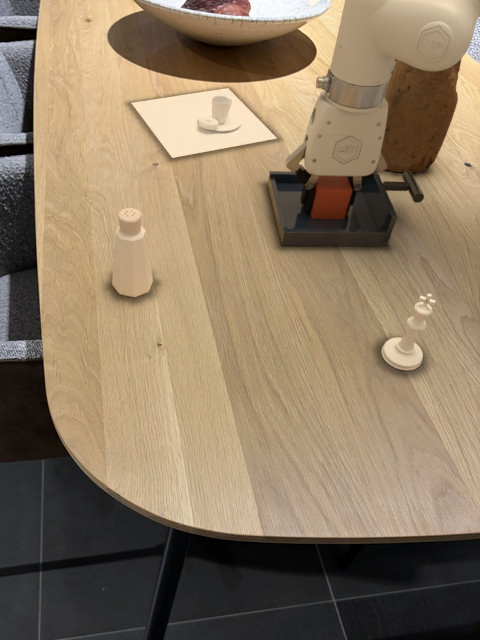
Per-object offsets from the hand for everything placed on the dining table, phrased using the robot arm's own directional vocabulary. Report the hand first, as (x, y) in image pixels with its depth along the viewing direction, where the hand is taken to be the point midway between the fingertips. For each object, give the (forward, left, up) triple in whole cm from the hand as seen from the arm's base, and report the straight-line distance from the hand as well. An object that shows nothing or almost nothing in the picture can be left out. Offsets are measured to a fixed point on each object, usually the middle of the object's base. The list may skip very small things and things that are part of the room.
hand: (325, 207), depth 91 cm
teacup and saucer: (+17, -28, -1) cm, 33 cm away
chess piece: (-4, +29, -1) cm, 29 cm away
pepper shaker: (+29, +16, -1) cm, 33 cm away
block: (-16, -15, -1) cm, 22 cm away
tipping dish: (-3, 0, -1) cm, 3 cm away
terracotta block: (0, 0, 0) cm, 0 cm away
